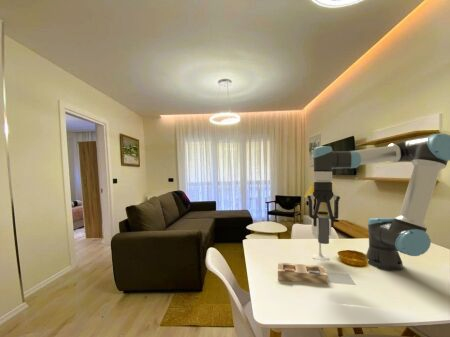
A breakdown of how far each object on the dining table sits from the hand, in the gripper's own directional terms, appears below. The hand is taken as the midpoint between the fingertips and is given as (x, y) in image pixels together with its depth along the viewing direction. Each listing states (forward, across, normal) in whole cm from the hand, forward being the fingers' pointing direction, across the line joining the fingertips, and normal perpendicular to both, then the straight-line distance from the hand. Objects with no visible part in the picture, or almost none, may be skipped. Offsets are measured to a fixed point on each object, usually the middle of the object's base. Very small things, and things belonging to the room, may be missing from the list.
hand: (323, 233), depth 97 cm
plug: (+4, 0, 0) cm, 4 cm away
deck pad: (+19, -6, -1) cm, 20 cm away
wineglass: (+19, -3, -24) cm, 31 cm away
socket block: (+20, +10, +1) cm, 22 cm away
